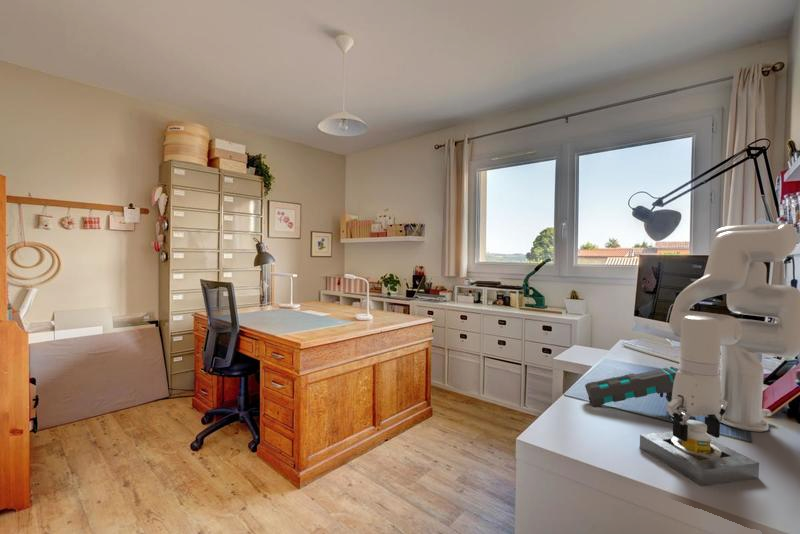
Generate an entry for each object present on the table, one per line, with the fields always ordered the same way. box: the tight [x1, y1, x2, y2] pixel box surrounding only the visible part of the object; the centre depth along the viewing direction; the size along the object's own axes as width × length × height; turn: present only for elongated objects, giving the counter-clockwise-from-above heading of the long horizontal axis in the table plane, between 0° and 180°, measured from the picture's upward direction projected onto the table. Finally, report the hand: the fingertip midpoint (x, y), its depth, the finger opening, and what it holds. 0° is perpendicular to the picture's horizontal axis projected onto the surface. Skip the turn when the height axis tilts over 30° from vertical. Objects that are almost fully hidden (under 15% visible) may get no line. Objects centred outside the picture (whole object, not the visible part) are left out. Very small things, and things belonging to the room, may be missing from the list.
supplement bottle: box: [682, 419, 711, 454], centre depth 89 cm, size 5×5×10 cm
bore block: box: [639, 430, 760, 487], centre depth 89 cm, size 16×16×4 cm
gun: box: [584, 366, 686, 417], centre depth 119 cm, size 7×29×15 cm, turn 78°
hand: (695, 436), depth 89 cm, fingers open, 9 cm apart
